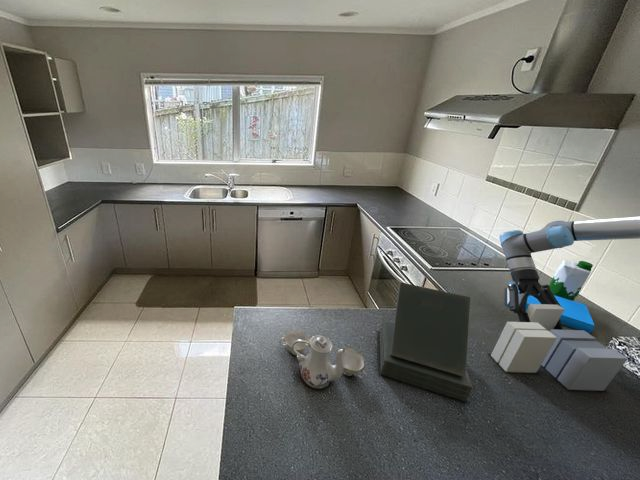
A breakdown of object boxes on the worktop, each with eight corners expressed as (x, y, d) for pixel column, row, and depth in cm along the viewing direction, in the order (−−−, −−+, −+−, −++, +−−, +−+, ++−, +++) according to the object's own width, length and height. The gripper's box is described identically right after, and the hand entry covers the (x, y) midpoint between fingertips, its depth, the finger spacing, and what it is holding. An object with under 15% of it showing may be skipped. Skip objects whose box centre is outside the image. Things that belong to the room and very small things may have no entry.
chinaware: (363, 366, 92) (373, 324, 87) (364, 410, 77) (376, 361, 72) (281, 342, 101) (286, 302, 96) (268, 377, 86) (272, 331, 81)
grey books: (534, 358, 96) (551, 328, 91) (565, 359, 96) (584, 329, 91) (568, 389, 85) (590, 357, 80) (603, 390, 85) (628, 358, 80)
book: (509, 281, 133) (586, 303, 118) (506, 289, 134) (581, 312, 120) (510, 298, 120) (596, 325, 106) (506, 306, 122) (590, 334, 107)
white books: (490, 355, 96) (507, 321, 91) (519, 356, 97) (537, 322, 91) (506, 371, 90) (524, 336, 85) (536, 372, 91) (557, 337, 85)
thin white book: (513, 336, 104) (529, 303, 99) (539, 337, 104) (557, 304, 99) (519, 341, 102) (536, 308, 96) (546, 342, 102) (564, 309, 96)
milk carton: (572, 308, 122) (595, 269, 114) (543, 298, 128) (564, 260, 120) (571, 299, 128) (593, 261, 120) (544, 290, 134) (563, 254, 126)
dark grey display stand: (380, 374, 88) (398, 311, 78) (379, 332, 105) (394, 276, 95) (465, 402, 80) (497, 336, 71) (449, 352, 97) (474, 293, 88)
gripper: (542, 273, 110) (564, 333, 102) (485, 271, 110) (503, 332, 101) (562, 269, 103) (587, 333, 95) (501, 267, 103) (522, 331, 95)
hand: (544, 332), depth 98 cm, fingers closed on thin white book, 10 cm apart
